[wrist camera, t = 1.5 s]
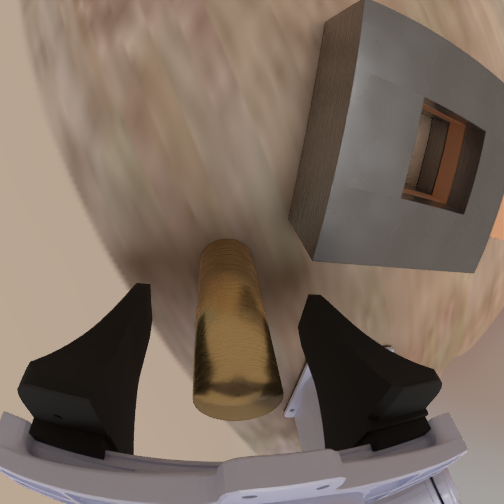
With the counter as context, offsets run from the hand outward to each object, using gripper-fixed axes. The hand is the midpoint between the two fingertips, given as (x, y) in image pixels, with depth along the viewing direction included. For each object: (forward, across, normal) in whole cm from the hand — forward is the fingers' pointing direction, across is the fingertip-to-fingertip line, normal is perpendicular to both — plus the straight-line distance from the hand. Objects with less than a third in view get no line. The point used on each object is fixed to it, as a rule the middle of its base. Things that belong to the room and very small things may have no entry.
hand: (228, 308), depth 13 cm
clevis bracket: (+4, -9, -8) cm, 13 cm away
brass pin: (+4, 0, 0) cm, 4 cm away
